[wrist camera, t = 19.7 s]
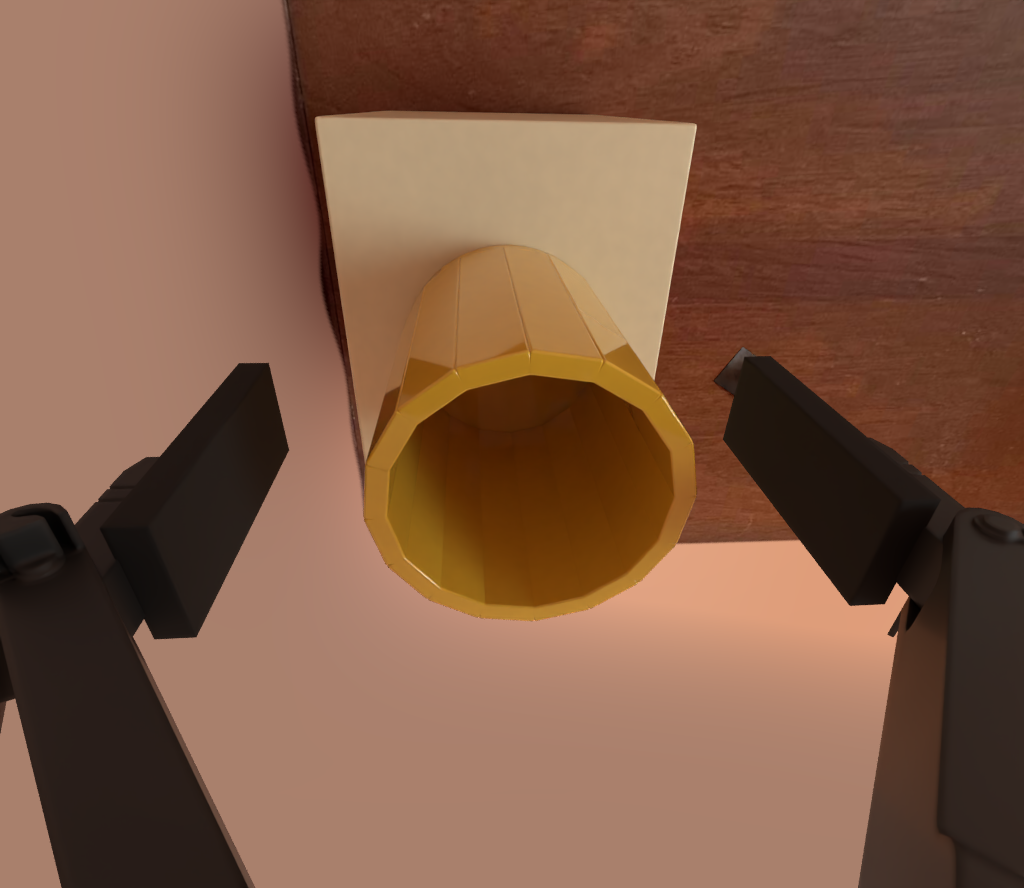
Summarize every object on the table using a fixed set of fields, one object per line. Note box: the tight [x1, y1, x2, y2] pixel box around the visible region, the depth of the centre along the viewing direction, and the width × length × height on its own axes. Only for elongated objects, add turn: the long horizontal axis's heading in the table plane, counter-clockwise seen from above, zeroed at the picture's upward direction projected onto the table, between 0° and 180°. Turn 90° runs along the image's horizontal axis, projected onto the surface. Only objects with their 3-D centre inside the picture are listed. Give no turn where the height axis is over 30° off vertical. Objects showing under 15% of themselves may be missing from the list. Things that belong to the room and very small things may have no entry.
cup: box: [363, 245, 697, 621], centre depth 15 cm, size 7×7×9 cm
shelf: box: [315, 111, 697, 464], centre depth 26 cm, size 14×11×16 cm
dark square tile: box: [714, 347, 755, 395], centre depth 38 cm, size 3×3×1 cm
